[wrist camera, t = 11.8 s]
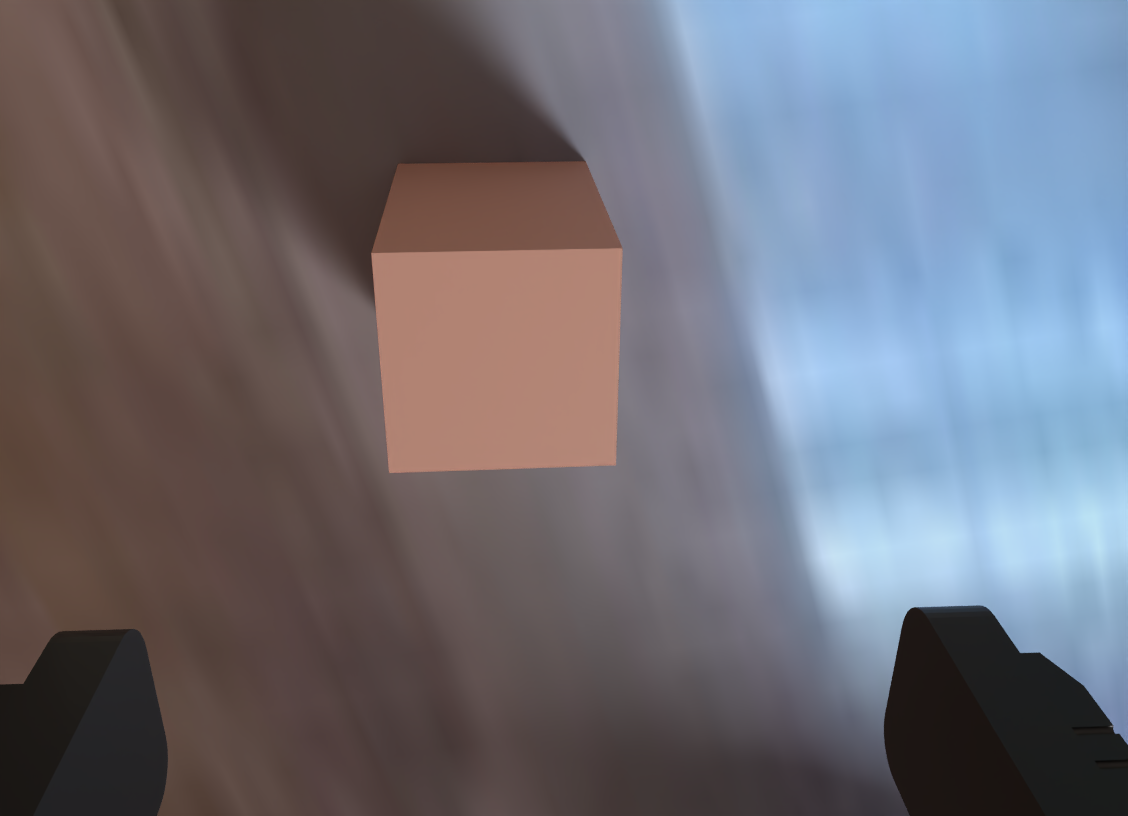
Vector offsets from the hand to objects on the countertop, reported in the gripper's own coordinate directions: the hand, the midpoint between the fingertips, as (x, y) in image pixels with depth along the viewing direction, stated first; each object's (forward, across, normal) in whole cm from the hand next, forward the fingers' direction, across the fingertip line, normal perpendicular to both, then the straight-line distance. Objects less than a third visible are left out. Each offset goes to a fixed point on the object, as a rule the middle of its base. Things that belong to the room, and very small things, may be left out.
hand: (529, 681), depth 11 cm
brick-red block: (+16, 0, 0) cm, 16 cm away
